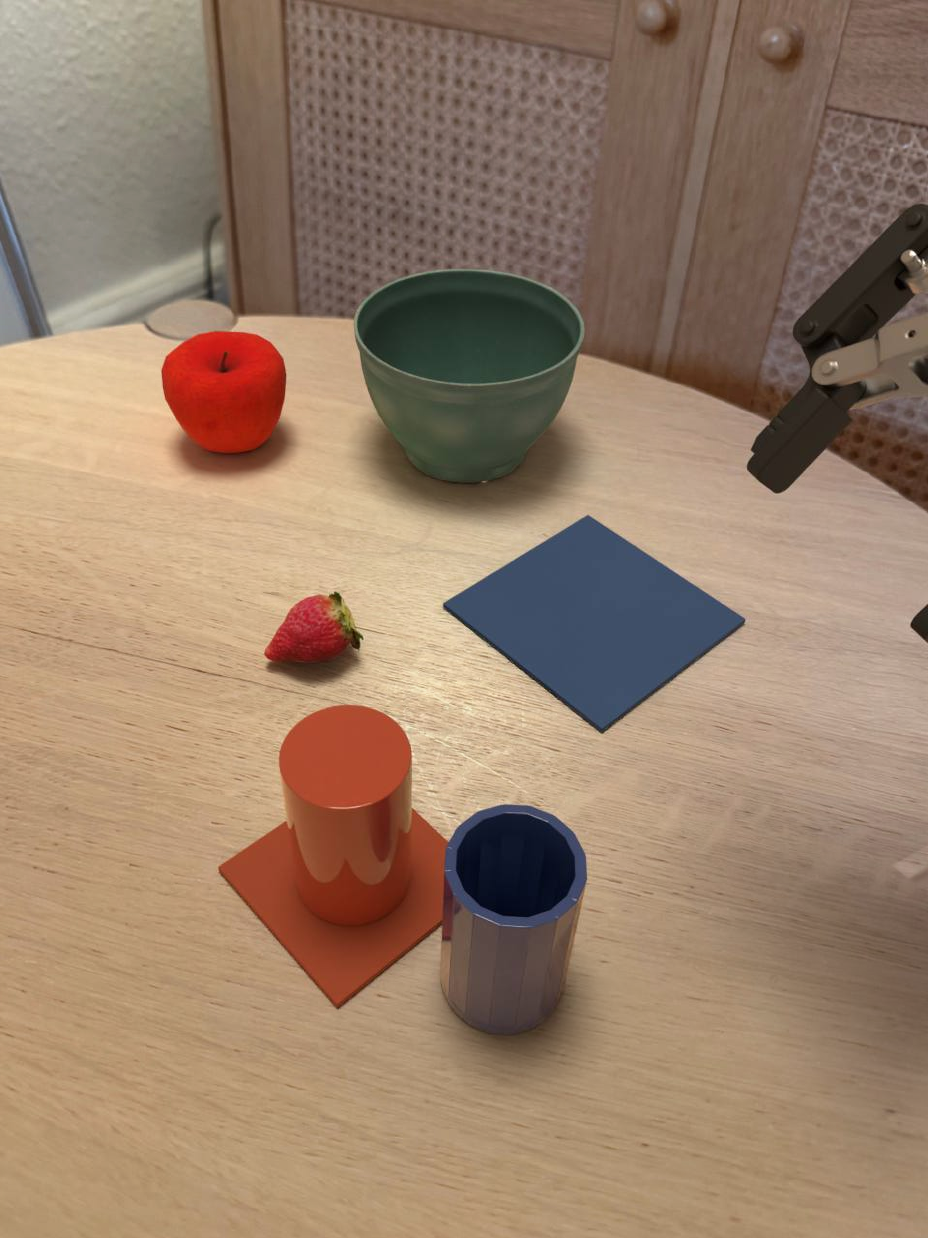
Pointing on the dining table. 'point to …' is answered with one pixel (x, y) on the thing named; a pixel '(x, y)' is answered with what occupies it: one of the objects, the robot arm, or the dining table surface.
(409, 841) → the tall red cylinder
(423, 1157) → the dining table surface
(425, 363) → the flower pot
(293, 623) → the fruit
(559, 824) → the blue cup
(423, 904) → the red mat
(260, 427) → the apple
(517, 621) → the blue mat
